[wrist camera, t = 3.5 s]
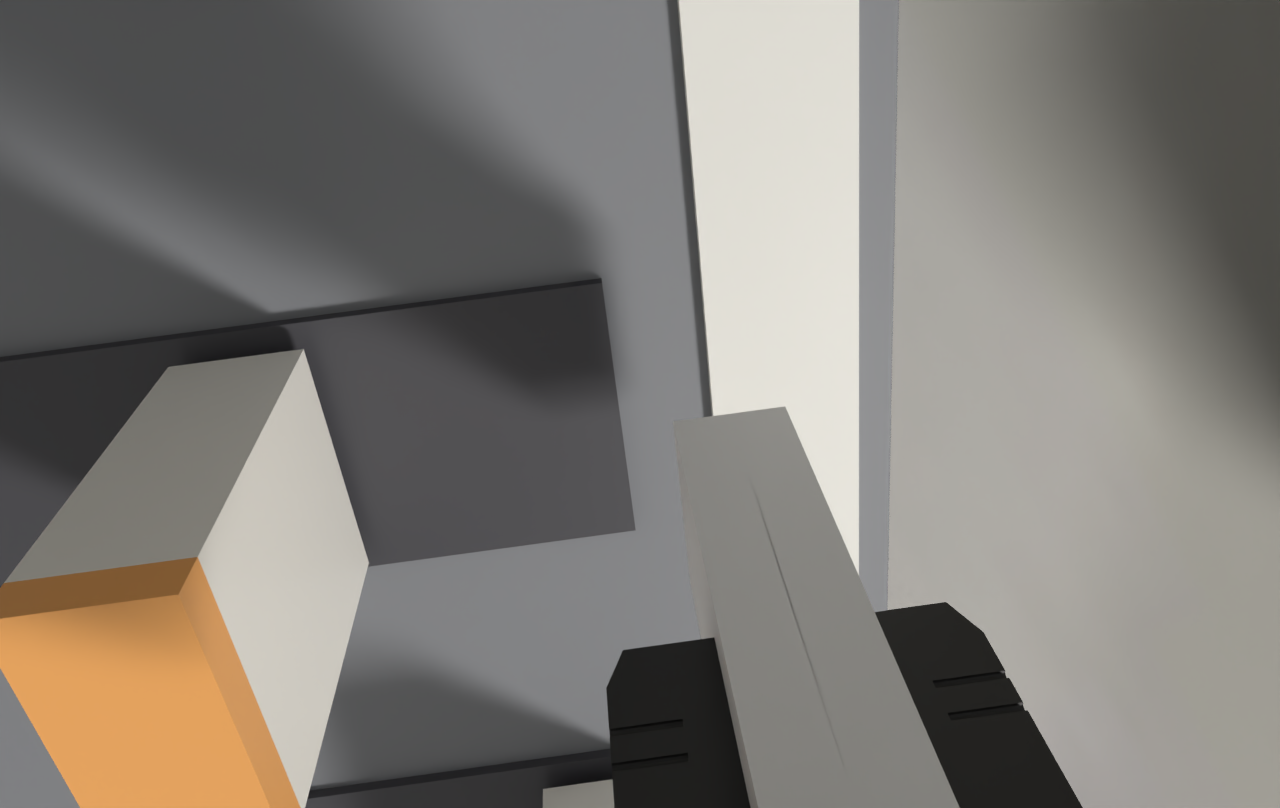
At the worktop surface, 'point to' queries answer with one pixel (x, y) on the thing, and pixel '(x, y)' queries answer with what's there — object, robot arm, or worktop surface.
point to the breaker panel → (458, 315)
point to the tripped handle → (193, 597)
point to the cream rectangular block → (580, 795)
